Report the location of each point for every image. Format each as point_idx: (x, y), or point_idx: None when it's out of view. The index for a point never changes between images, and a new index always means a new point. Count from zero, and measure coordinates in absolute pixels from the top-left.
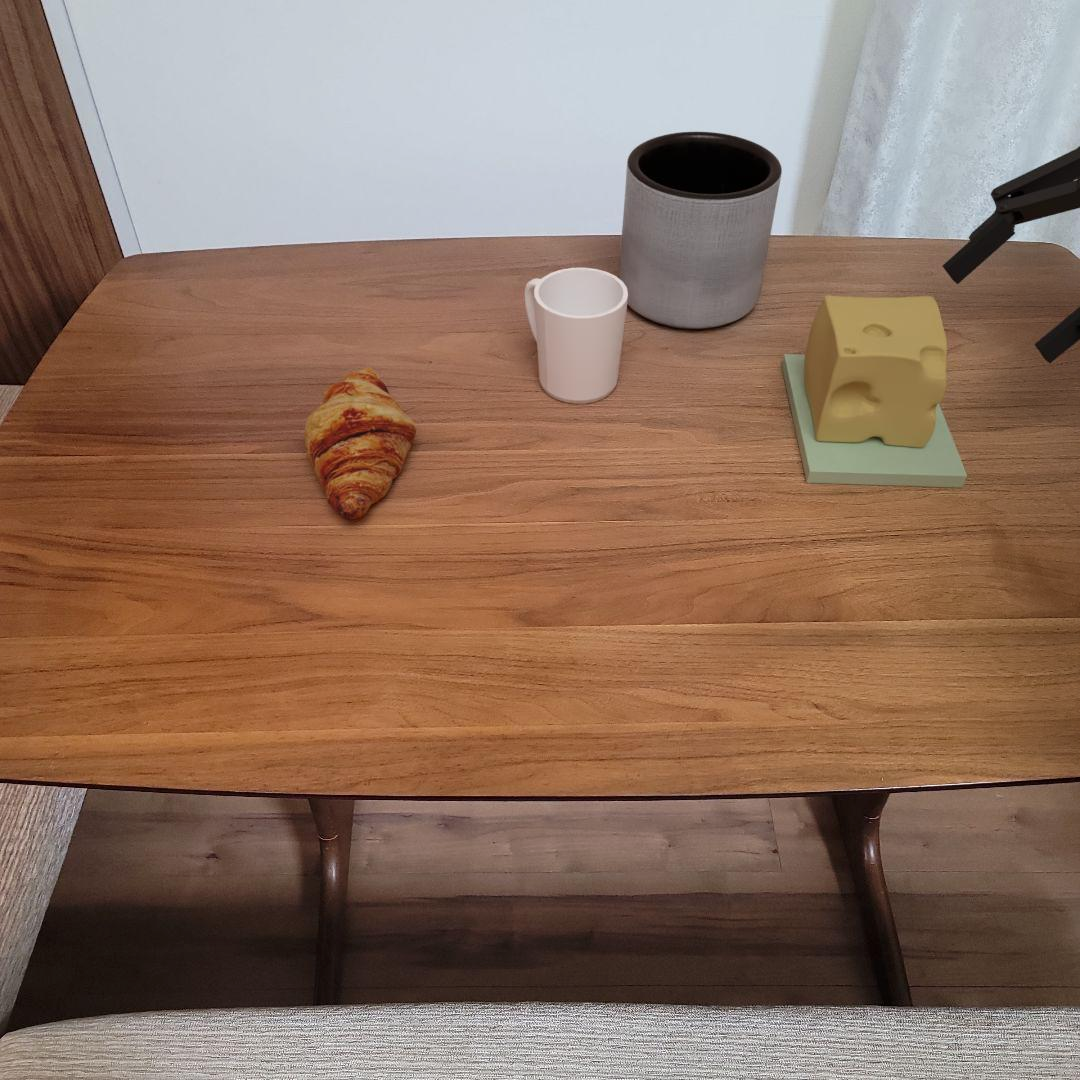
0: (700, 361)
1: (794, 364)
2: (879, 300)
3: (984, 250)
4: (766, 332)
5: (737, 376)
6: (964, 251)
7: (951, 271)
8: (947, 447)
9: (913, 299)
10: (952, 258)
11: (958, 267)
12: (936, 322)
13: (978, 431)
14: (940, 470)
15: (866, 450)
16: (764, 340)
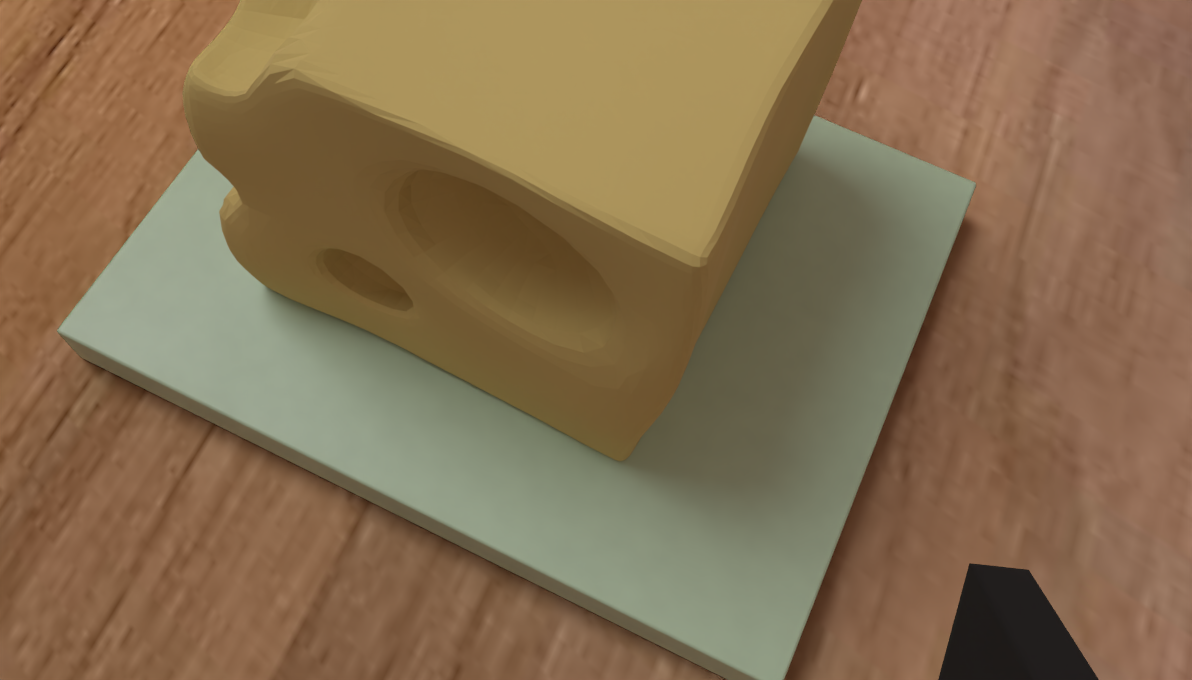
0: (1053, 7)
1: (901, 179)
2: (782, 7)
3: None
4: (1182, 282)
5: (939, 61)
6: (1052, 678)
7: (965, 621)
8: (217, 369)
9: (712, 142)
10: (1044, 617)
11: (977, 671)
12: (461, 115)
13: (289, 651)
14: (137, 265)
15: None
16: (1130, 247)
